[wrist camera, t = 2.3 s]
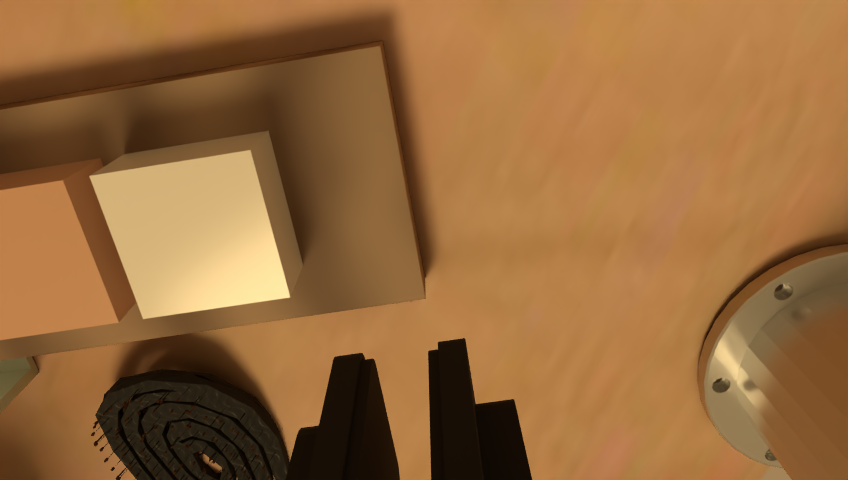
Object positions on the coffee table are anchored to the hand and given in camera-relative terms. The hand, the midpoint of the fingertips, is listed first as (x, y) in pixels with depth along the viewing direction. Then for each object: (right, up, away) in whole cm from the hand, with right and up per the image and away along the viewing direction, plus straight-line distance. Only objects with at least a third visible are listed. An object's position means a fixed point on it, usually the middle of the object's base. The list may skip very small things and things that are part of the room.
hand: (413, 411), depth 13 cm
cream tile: (-8, +5, +14) cm, 17 cm away
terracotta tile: (-15, +3, +15) cm, 22 cm away
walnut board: (-10, +5, +16) cm, 20 cm away
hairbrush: (-10, -13, +25) cm, 29 cm away
